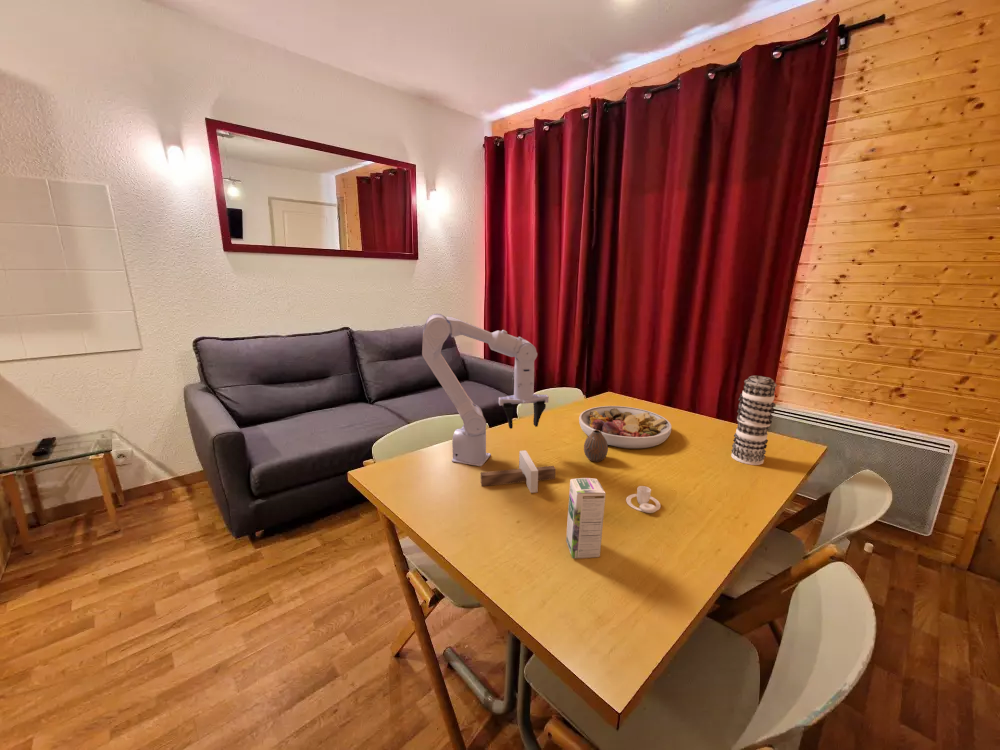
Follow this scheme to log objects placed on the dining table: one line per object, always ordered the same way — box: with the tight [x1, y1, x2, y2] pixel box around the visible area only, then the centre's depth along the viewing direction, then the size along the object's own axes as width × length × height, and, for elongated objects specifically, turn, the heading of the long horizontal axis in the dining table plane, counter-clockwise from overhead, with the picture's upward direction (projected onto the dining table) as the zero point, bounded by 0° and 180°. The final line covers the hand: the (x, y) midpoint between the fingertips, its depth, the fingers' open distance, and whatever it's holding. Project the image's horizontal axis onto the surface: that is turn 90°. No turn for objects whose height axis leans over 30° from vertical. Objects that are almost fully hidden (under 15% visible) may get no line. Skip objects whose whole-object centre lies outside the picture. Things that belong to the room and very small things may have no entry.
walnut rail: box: [480, 465, 557, 487], centre depth 109 cm, size 20×2×3 cm, turn 101°
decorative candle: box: [730, 375, 778, 466], centre depth 120 cm, size 9×9×25 cm
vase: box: [583, 430, 609, 463], centre depth 121 cm, size 7×7×9 cm
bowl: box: [578, 405, 672, 449], centre depth 141 cm, size 30×30×8 cm
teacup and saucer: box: [625, 485, 661, 514], centre depth 99 cm, size 9×8×4 cm
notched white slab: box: [518, 450, 539, 494], centre depth 109 cm, size 12×2×6 cm, turn 11°
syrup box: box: [565, 477, 606, 559], centre depth 82 cm, size 6×6×14 cm
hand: (523, 426), depth 122 cm, fingers open, 7 cm apart
